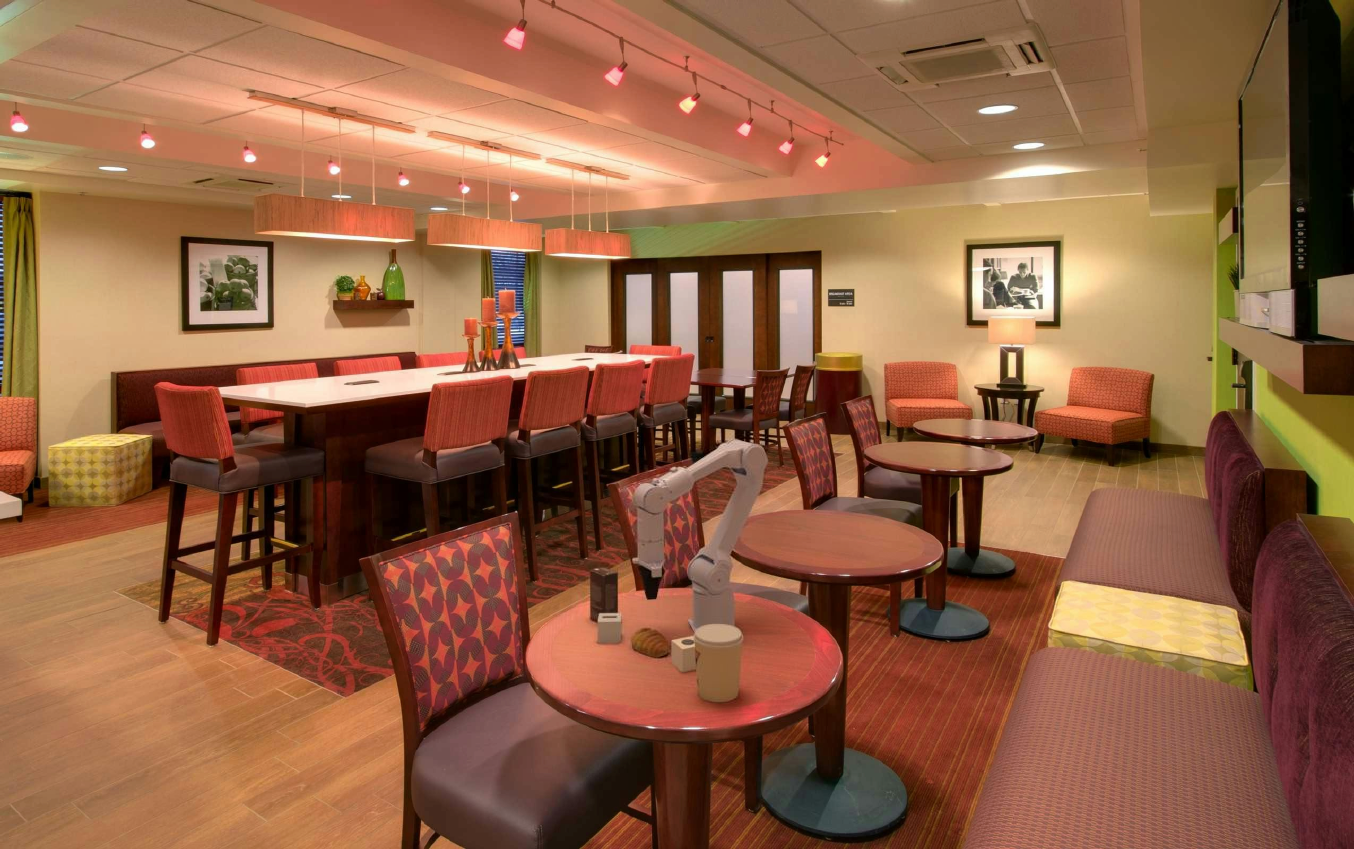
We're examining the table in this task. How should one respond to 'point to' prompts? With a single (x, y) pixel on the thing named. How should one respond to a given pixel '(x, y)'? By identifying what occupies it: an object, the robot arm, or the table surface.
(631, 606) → the table surface
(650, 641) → the pastry
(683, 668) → the marked block cream
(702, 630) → the coffee cup
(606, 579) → the box
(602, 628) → the marked block grey
